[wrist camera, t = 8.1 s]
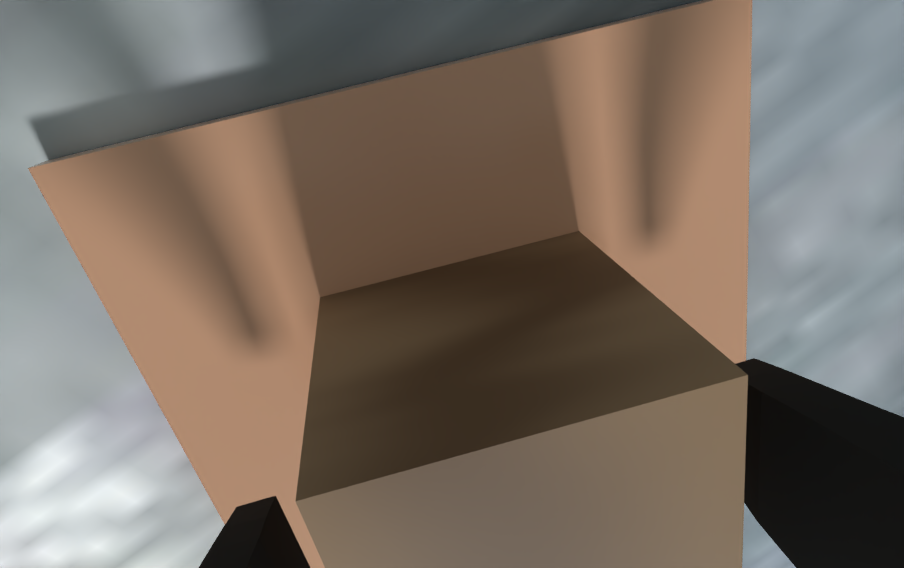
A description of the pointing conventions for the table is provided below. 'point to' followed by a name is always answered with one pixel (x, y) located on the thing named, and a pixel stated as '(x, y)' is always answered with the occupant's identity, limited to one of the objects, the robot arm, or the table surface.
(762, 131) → the table surface
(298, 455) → the terracotta tile
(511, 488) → the walnut block
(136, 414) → the table surface
